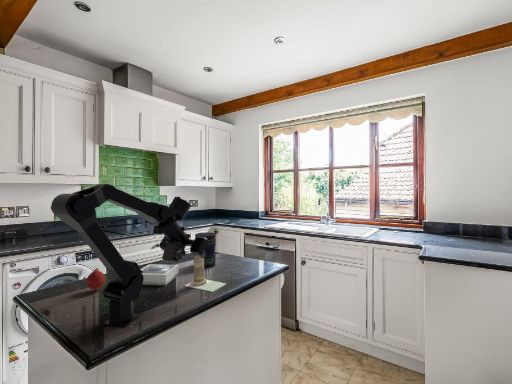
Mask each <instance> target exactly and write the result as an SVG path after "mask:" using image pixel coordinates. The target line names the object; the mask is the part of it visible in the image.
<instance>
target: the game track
mask: <svg viewBox="0 0 512 384" xmlns="http://www.w3.org/2000/svg"><path fill="white" fill-rule="evenodd" d="M226 285H227V283H225V282H221V281H216V280H215V281H214V280H211V279H206V284H204V285H201V286H194V285H192V281H191V282H188V283H186V284H185V285H184V287H188V288H192V289H197V290H201V291H206V292H211V293H214V292H216V291H218V290H219V289H221V288H222V287H223V288H224V286H226Z"/></svg>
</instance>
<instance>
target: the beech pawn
mask: <svg viewBox="0 0 512 384" xmlns="http://www.w3.org/2000/svg"><path fill="white" fill-rule="evenodd" d="M206 280H207V278H206V277H205V268H204V259H203V258H201V257H200V256H198V255H193V278H192V279H191V282H192V285H194V286H201V285H204V284H206Z"/></svg>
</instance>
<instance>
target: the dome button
mask: <svg viewBox="0 0 512 384" xmlns="http://www.w3.org/2000/svg"><path fill="white" fill-rule="evenodd" d="M167 265H168V264H159V263H158V264H157V265H152V266H149V267H146V268H145V269H144V273H151V274H165V273H166V272H168V271H169V270H170V267H169V266H167Z"/></svg>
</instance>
